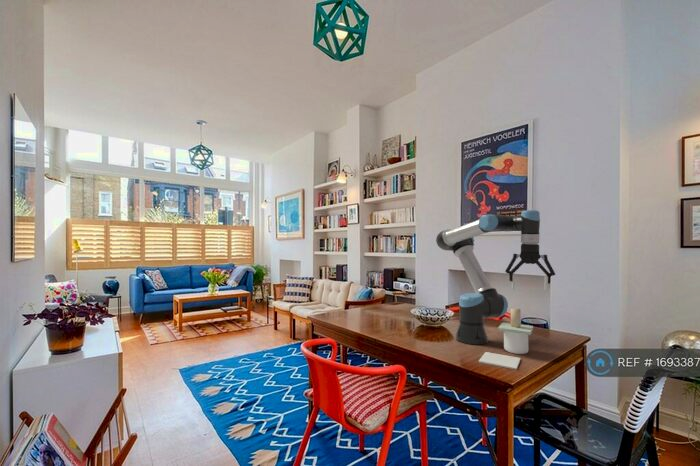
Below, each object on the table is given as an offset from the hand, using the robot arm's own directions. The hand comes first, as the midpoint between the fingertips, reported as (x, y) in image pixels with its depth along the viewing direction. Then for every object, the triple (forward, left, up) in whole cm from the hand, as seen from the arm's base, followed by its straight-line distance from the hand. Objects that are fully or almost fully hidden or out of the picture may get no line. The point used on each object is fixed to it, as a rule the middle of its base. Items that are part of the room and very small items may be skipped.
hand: (529, 289), depth 151 cm
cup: (-5, -5, -28) cm, 29 cm away
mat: (-9, -23, -28) cm, 37 cm away
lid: (-5, -4, -18) cm, 19 cm away
